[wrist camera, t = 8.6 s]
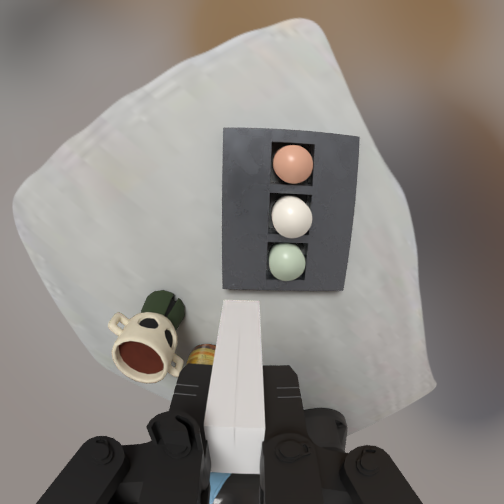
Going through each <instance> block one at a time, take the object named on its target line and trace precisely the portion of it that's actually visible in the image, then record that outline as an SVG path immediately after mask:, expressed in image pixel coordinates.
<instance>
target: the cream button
mask: <svg viewBox="0 0 504 504" xmlns="http://www.w3.org/2000/svg"><path fill="white" fill-rule="evenodd" d="M271 217H272V221H273V224H274V227H275V229H276V231H277V232H278V233H279V234H281V235H282V236H284V237H286V238H298V237H300V236H302V235H304V234H305V233H306V232H307V231H308V230H309V228H310V226H311V224H312V213H311V211H310V209H309V207H308V206H307V205H306V204H305V203H304V202H303V201H302V200H301V199H300V198H299V197H297V196H294V195H284V196H281V197H280V198H278V199H277V200H276V201H275V202H274V204H273V205H272V208H271Z"/></svg>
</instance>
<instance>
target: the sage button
mask: <svg viewBox="0 0 504 504" xmlns="http://www.w3.org/2000/svg"><path fill="white" fill-rule="evenodd" d="M268 259H269V266H270V270H271V273H272V274H273V275H274V276H275V277H276V278H277V279H279V280H282V281H291V280H294V279H296V278H298V277H299V276H300V275H301V274H302V273H303V271H304V269H305V258H304V256H303V254H302V251H301V249H300V247H299V246H298V244H297V243H288V242H274V243H273V244H272V245H271V247H270V249H269V252H268Z"/></svg>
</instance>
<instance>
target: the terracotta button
mask: <svg viewBox="0 0 504 504" xmlns="http://www.w3.org/2000/svg"><path fill="white" fill-rule="evenodd" d="M272 167H273V170H274V172H275V173H276V174H277V175H278V176H279V177H280V178H281V179H282V180H283V181H285V182H287V183H292V184H296V183H300V182H303V181H304V180H306V179H307V178H308V177H309V176H310V174H311V172H312V169H313V160H312V157H311V155H310V154H309V152H308V151H307V150H306V149H304V148H303V147H301V146H297V145H288V146H284V147H281V148H280V149H278V150H277V151H276V152H275V154H274V156H273V159H272Z"/></svg>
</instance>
